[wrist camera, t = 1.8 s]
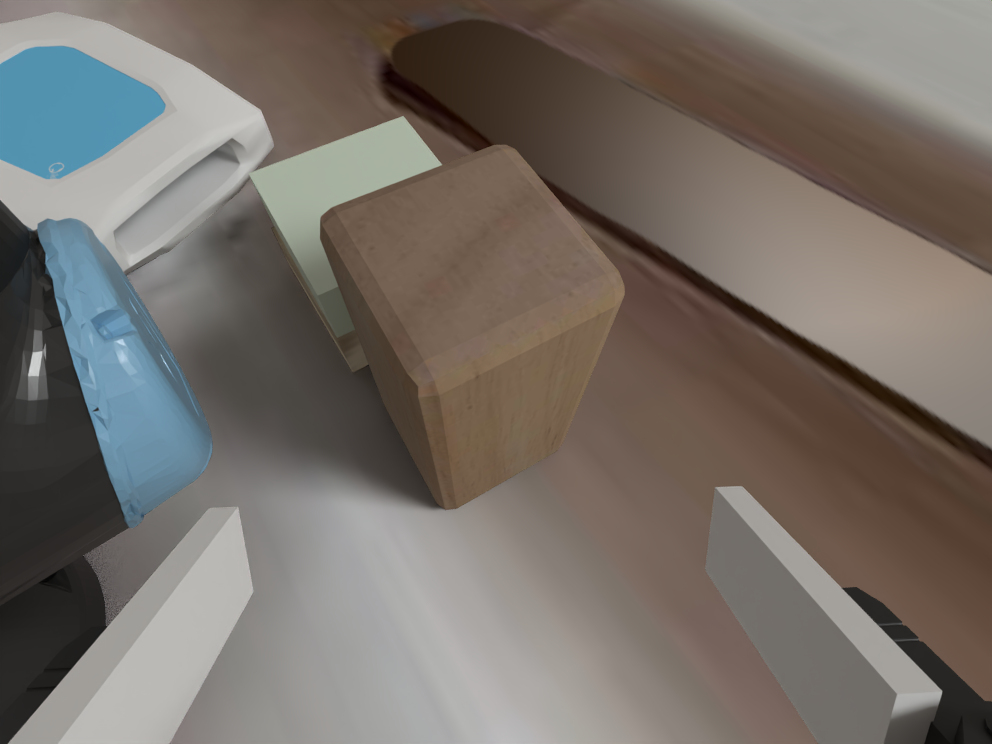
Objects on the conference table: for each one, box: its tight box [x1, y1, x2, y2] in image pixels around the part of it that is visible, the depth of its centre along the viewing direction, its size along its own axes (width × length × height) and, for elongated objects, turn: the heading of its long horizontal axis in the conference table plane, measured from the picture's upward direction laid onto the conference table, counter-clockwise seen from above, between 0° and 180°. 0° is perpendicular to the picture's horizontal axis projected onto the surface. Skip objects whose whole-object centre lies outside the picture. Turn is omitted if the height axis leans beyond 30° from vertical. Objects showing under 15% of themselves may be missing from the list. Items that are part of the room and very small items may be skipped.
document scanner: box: [0, 12, 274, 275], centre depth 48 cm, size 21×28×6 cm
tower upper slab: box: [249, 116, 442, 338], centre depth 39 cm, size 12×12×5 cm
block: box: [320, 145, 625, 510], centre depth 30 cm, size 10×10×20 cm
